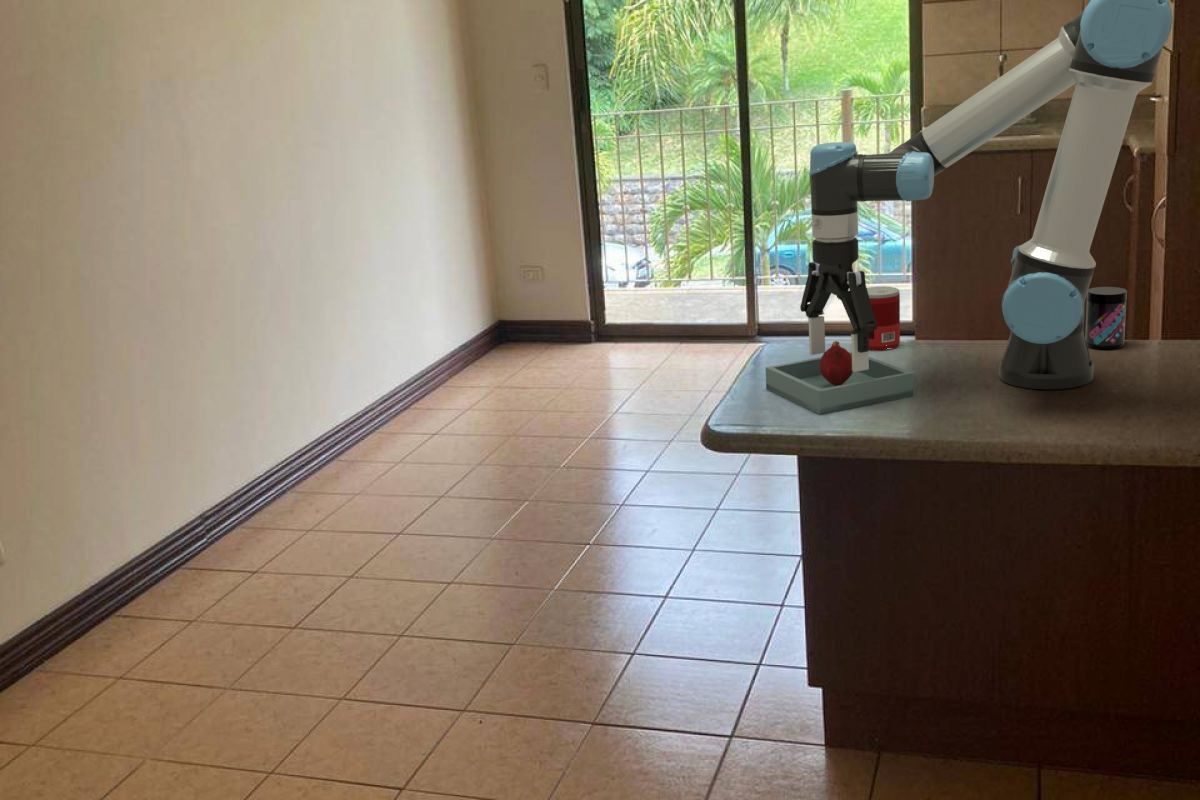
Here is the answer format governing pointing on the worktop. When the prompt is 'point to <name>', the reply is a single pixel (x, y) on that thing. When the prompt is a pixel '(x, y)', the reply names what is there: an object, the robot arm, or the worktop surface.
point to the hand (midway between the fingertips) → (838, 361)
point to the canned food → (885, 317)
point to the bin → (823, 397)
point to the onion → (836, 364)
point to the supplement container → (1105, 317)
